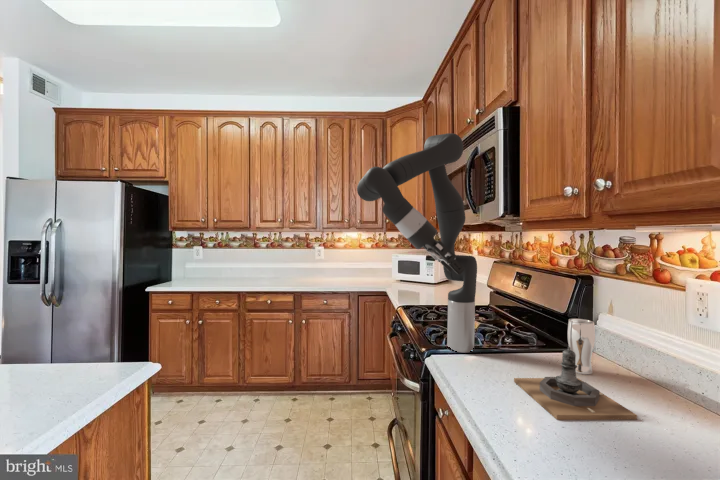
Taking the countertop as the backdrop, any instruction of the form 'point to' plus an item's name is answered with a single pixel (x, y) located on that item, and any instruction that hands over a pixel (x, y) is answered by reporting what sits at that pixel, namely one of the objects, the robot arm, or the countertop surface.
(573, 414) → the socket plate
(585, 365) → the beer glass
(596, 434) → the countertop surface
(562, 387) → the grey turned stone piece
